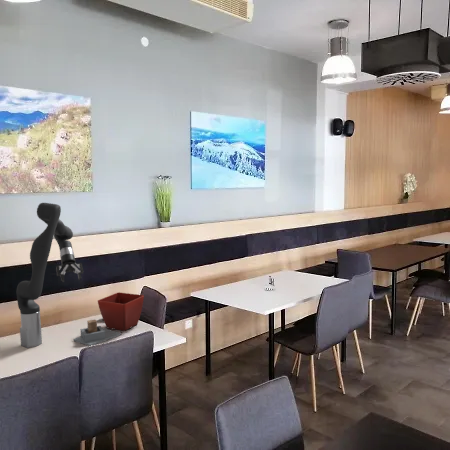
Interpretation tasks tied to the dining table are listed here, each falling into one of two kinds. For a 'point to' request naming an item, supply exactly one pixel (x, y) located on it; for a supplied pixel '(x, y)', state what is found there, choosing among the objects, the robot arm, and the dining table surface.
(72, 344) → the dining table surface
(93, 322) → the walnut post
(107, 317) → the plant pot
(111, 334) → the well board
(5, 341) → the dining table surface
